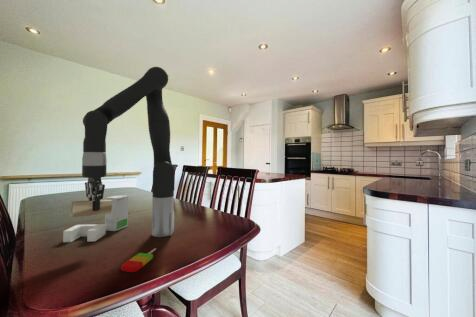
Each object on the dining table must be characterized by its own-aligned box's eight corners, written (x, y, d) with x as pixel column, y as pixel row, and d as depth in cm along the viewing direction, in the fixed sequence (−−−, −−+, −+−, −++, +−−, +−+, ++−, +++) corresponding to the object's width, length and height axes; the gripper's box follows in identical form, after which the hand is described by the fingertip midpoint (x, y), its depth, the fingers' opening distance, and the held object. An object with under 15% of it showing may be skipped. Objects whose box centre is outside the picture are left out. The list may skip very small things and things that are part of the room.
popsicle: (119, 272, 62) (119, 265, 62) (148, 250, 77) (149, 245, 77) (135, 274, 61) (135, 267, 61) (162, 251, 76) (162, 246, 76)
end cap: (105, 234, 91) (105, 224, 91) (95, 241, 83) (95, 230, 83) (76, 234, 89) (76, 224, 89) (63, 242, 81) (63, 231, 81)
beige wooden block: (111, 213, 79) (112, 200, 79) (72, 217, 70) (74, 202, 70) (107, 211, 81) (108, 199, 82) (69, 215, 72) (71, 201, 72)
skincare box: (115, 231, 94) (116, 198, 94) (103, 230, 95) (104, 197, 95) (128, 226, 102) (129, 195, 102) (117, 225, 103) (118, 194, 104)
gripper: (113, 164, 75) (112, 211, 75) (99, 163, 83) (98, 205, 83) (89, 165, 69) (88, 215, 69) (76, 164, 78) (76, 208, 77)
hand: (94, 209), depth 76 cm, fingers closed on beige wooden block, 3 cm apart
